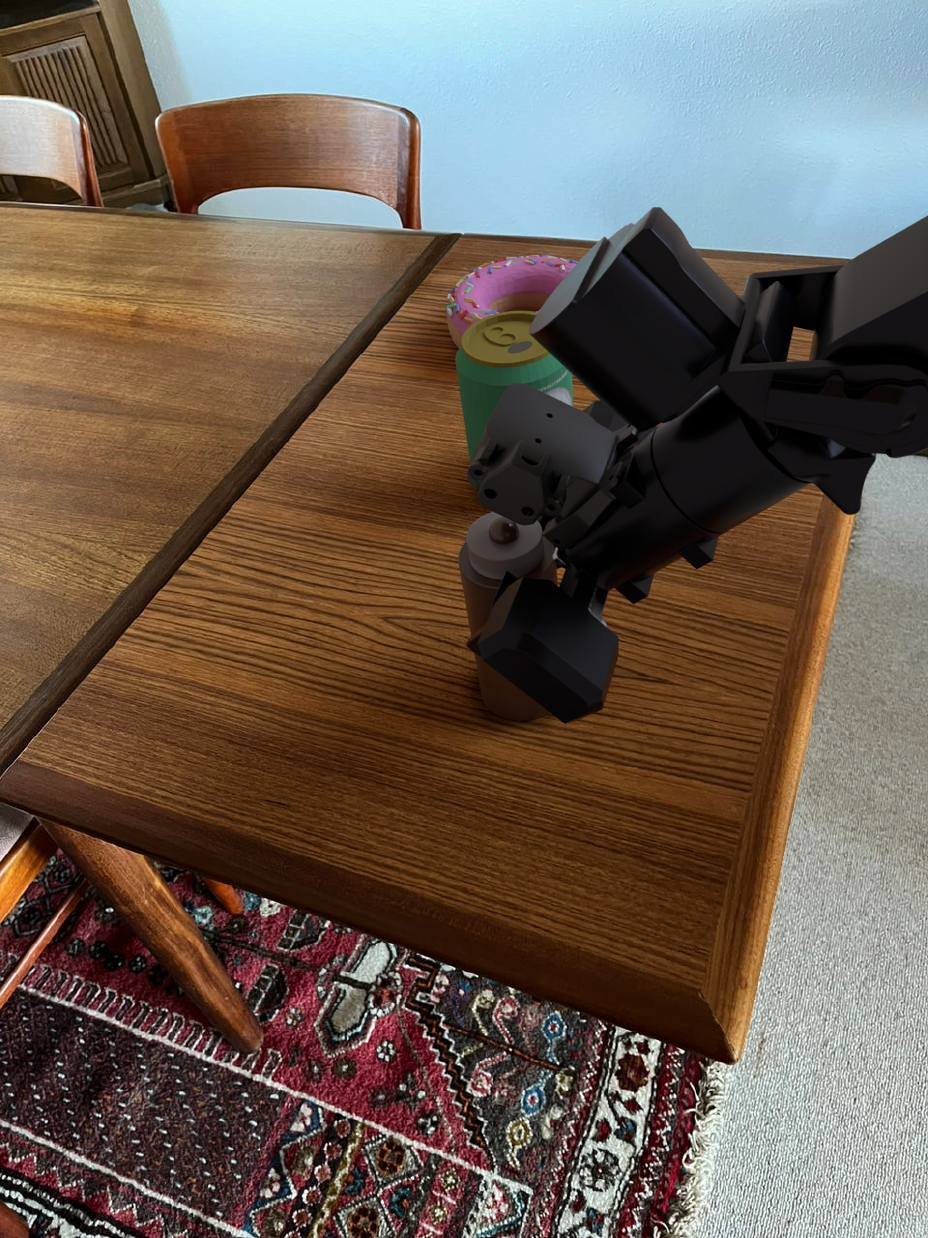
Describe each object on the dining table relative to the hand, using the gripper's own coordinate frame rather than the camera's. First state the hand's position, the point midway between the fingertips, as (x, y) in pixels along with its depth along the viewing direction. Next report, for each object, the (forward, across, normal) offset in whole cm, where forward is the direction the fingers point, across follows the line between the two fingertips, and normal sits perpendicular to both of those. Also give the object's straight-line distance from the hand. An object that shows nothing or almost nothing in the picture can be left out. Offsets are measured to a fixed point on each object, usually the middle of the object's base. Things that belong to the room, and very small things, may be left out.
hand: (489, 610), depth 53 cm
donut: (+12, -40, -2) cm, 42 cm away
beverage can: (+8, -20, +2) cm, 22 cm away
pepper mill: (+4, 0, +6) cm, 7 cm away
